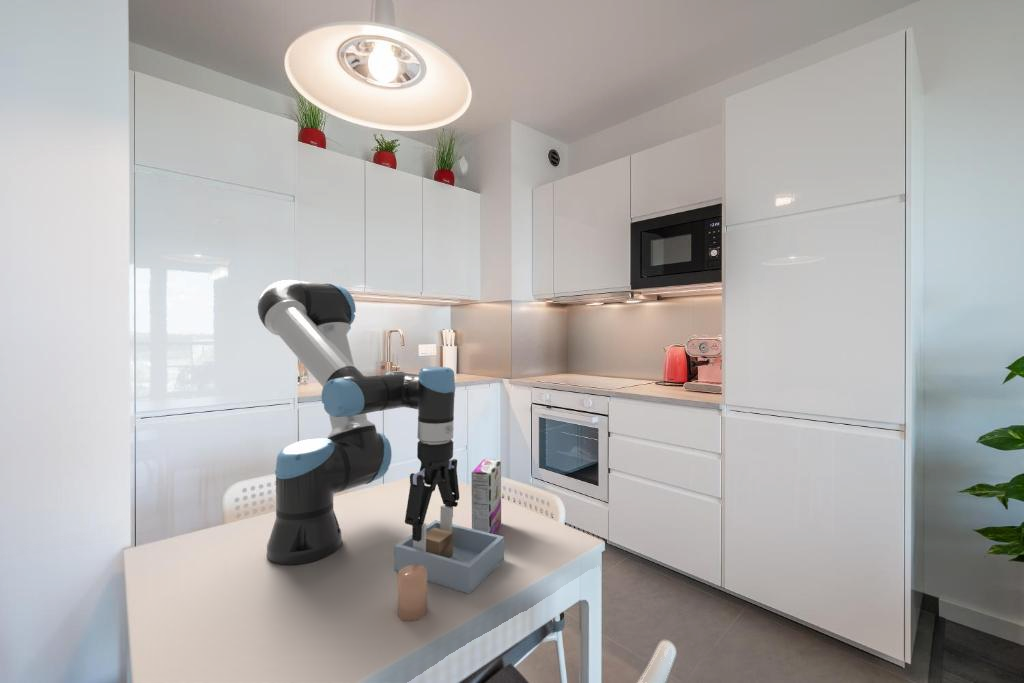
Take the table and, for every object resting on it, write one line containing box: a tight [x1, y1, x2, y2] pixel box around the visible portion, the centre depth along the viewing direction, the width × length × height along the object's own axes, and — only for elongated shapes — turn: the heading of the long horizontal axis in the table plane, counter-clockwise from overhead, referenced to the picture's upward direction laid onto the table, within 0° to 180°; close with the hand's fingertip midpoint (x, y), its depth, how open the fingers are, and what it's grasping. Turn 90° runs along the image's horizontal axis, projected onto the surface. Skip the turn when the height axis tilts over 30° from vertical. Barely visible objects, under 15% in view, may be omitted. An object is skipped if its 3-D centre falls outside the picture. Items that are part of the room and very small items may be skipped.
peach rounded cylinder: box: [397, 565, 428, 622], centre depth 76 cm, size 5×5×7 cm
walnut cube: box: [426, 528, 453, 558], centre depth 94 cm, size 5×5×5 cm
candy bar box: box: [471, 458, 502, 535], centre depth 108 cm, size 11×5×16 cm, turn 168°
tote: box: [393, 519, 505, 595], centre depth 92 cm, size 18×14×5 cm
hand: (433, 544), depth 94 cm, fingers open, 9 cm apart
